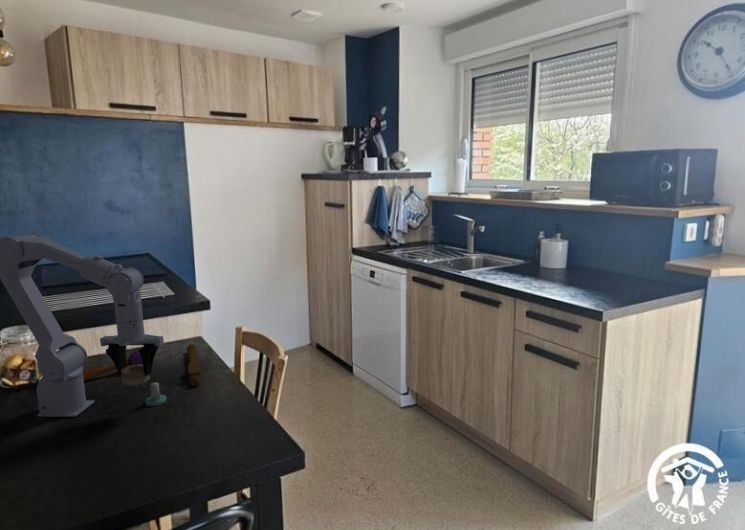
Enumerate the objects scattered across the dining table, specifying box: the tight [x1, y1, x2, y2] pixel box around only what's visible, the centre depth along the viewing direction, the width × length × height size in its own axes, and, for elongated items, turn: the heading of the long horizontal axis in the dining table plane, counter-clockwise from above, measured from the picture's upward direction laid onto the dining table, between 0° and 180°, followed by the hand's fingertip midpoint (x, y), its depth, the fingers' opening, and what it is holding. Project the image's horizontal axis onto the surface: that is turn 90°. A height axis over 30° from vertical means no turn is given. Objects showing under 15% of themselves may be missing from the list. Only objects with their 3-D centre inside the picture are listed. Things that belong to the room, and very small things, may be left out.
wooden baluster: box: [186, 343, 202, 387], centre depth 147 cm, size 3×3×30 cm
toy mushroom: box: [144, 382, 168, 407], centre depth 124 cm, size 5×5×5 cm
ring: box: [120, 364, 150, 386], centre depth 119 cm, size 6×6×3 cm
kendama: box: [82, 349, 143, 382], centre depth 142 cm, size 6×6×20 cm
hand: (135, 373), depth 119 cm, fingers closed on ring, 6 cm apart
